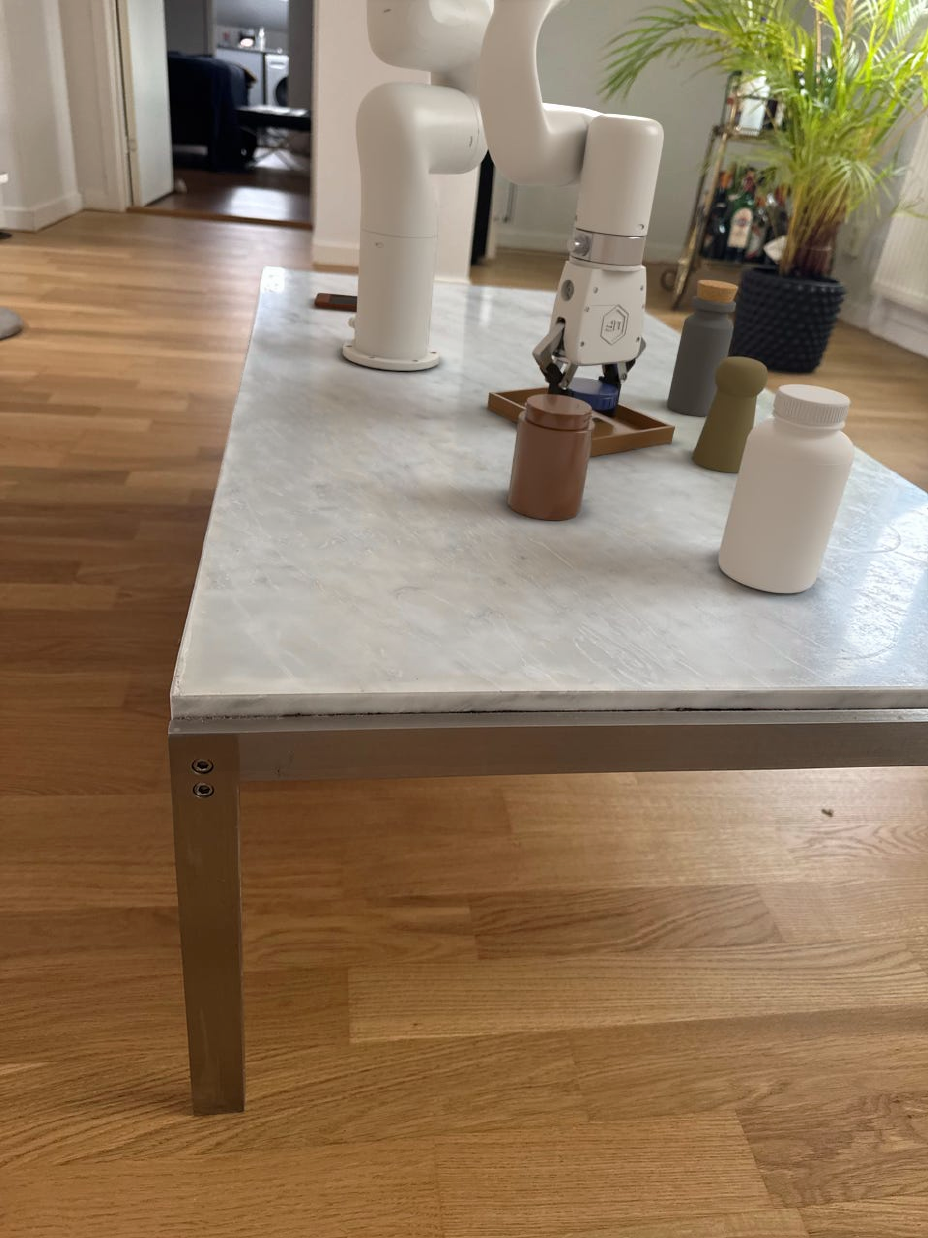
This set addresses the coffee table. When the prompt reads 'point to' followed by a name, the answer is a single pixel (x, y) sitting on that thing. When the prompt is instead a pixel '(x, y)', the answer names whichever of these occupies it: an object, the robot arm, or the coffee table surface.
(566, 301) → the robot arm
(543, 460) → the jar
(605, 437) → the tray
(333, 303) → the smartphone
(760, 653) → the coffee table surface
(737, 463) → the olive pepper mill
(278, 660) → the coffee table surface
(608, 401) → the lid
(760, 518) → the pill bottle
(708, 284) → the bottle
